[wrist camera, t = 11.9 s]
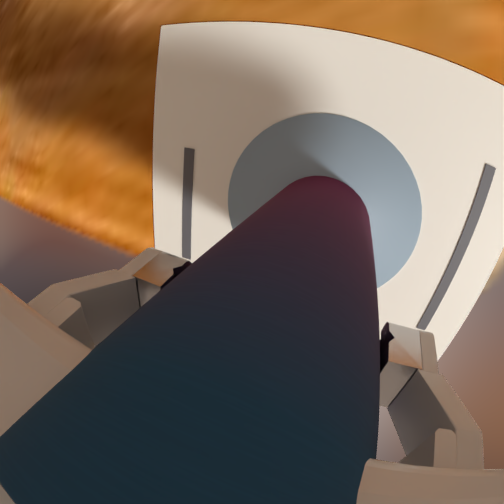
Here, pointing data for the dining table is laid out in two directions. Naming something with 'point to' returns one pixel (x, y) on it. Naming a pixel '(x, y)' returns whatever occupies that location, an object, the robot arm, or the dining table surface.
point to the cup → (226, 375)
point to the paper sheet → (335, 152)
